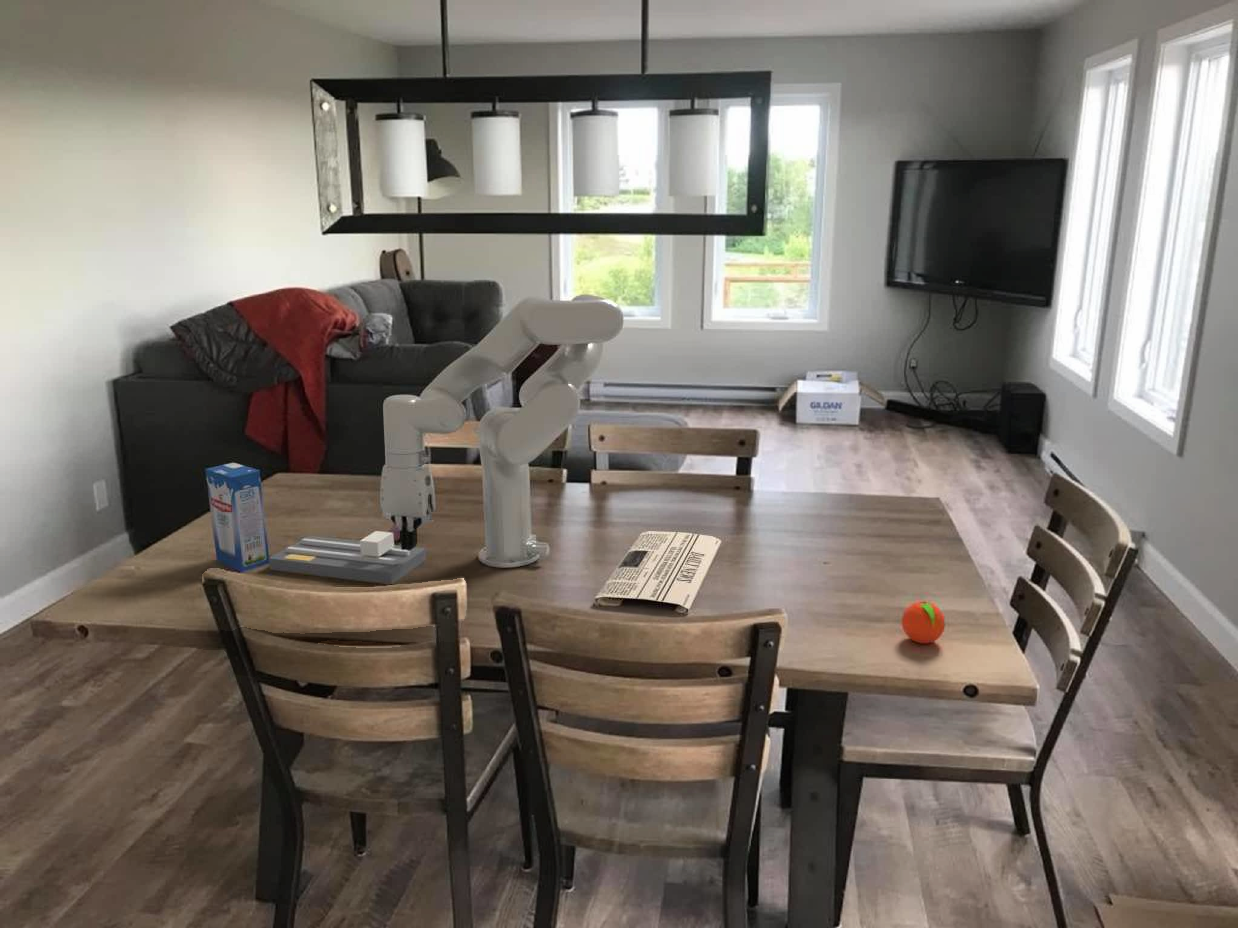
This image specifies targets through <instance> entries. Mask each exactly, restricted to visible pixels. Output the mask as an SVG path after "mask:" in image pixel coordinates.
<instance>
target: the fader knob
mask: <svg viewBox="0 0 1238 928" xmlns="http://www.w3.org/2000/svg"><path fill="white" fill-rule="evenodd" d="M359 541H360V548H361V555H367V556H376V557H379V556H381V555H382V554H384V553H385V552H387V551H388V550H390V549H391V548H393V547H394V545H395V541H394V537H393V533H390V532H387V531H382V530H381V531H379V530H375V531H373V532H372V533H369V535H367V536H365V537H364V538H362V539H361V540H359Z"/></svg>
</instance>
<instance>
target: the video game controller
mask: <svg viewBox="0 0 1238 928" xmlns="http://www.w3.org/2000/svg"><path fill="white" fill-rule="evenodd" d="M393 524H394V523H393ZM386 532H390V533H393V537H394V542H396V541H397V540H399V541H400V530H398V529H397V527H396V525H395V524H394V525H393V526H392V527H390V529H389V530H387V531H386Z"/></svg>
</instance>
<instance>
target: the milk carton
mask: <svg viewBox="0 0 1238 928" xmlns="http://www.w3.org/2000/svg"><path fill="white" fill-rule="evenodd" d="M204 470H205V477H206V478H205V479H206V486H207V493H208V499H209V500H208V501H209V507H210V517H211V525H212V532H213V540H214V547H215V556H216V557H215V558H216V562H217V561H219V562H218V563H220V562H221V563H220V564H222V563H223V564H222V565H225V566H227V567H229V568H231V569H234V570H236V571H238V572H240V573H243V572H247V571H250V570H253V569H257V568H259V567H264V566H266V565H269V558H270V552H269V542H268V537H267V534H268V533H267V526H266V519H265V508H264V507H265V506H264V499H263V492H262V490H263V489H262V483H261V472H260V469H256V468H254V467H249V466H247V465H243V464H240V463H236V462H230V463H225V464H221V465H217V466H214V467H213V466H212V467H208V468H205V469H204Z"/></svg>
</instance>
